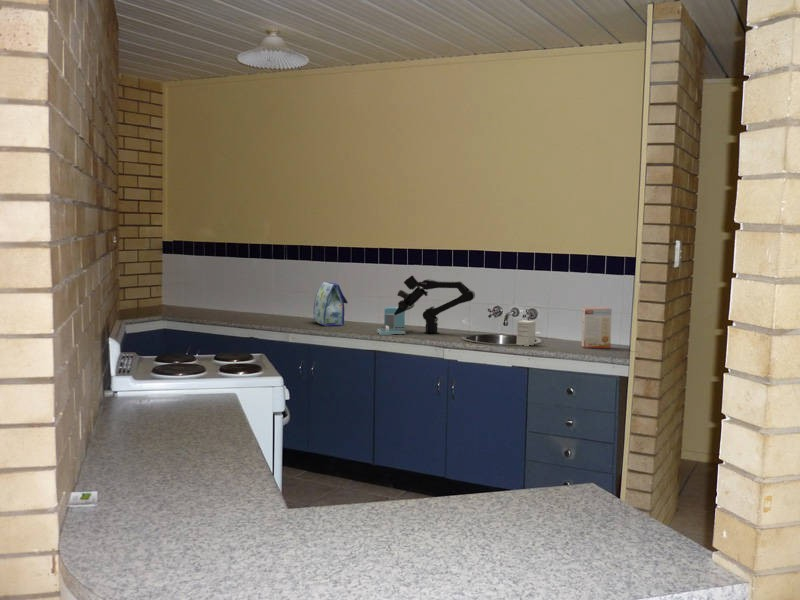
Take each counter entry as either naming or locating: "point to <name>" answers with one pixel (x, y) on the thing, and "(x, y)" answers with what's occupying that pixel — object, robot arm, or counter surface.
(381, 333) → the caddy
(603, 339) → the cracker box
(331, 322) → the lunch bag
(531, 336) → the white drawer cabinet
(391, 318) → the drive cartridge
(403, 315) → the teal arch frame
